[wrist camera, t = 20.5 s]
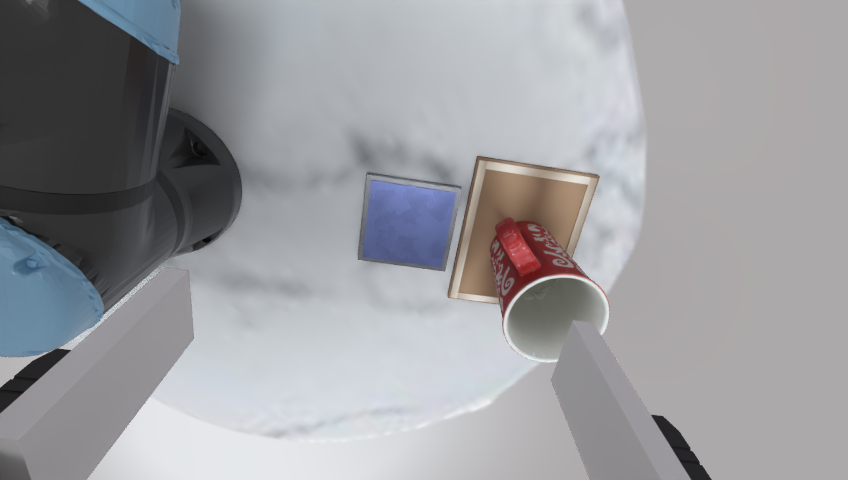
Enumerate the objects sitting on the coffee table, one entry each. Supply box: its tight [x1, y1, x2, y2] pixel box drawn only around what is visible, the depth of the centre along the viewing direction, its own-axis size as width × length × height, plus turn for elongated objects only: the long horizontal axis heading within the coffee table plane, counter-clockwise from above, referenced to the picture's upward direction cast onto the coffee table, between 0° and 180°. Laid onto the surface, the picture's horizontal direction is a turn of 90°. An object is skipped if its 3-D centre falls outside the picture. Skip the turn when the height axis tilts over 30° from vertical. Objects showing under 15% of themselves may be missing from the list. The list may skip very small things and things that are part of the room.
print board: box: [448, 156, 600, 305], centre depth 48 cm, size 13×17×1 cm
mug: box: [490, 217, 610, 362], centre depth 42 cm, size 13×9×14 cm
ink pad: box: [358, 173, 462, 271], centre depth 47 cm, size 10×10×1 cm
